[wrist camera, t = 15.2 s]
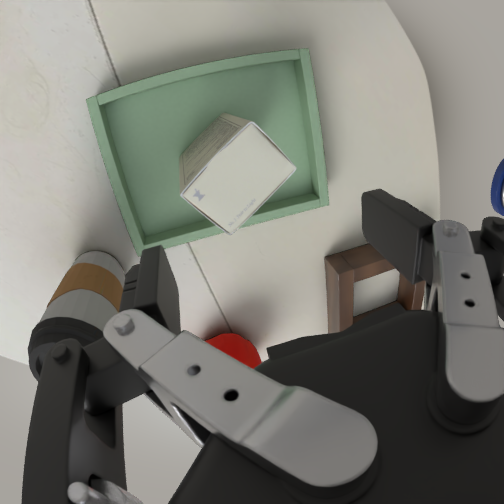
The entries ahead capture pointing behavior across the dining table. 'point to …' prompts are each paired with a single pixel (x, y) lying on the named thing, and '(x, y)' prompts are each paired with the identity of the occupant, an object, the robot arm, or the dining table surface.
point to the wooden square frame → (355, 269)
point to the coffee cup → (79, 306)
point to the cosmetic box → (232, 171)
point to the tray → (192, 125)
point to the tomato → (236, 348)
